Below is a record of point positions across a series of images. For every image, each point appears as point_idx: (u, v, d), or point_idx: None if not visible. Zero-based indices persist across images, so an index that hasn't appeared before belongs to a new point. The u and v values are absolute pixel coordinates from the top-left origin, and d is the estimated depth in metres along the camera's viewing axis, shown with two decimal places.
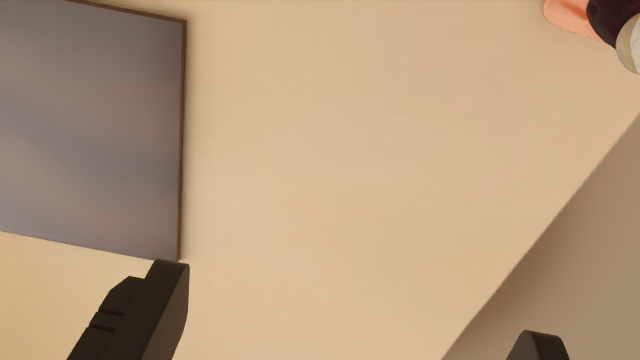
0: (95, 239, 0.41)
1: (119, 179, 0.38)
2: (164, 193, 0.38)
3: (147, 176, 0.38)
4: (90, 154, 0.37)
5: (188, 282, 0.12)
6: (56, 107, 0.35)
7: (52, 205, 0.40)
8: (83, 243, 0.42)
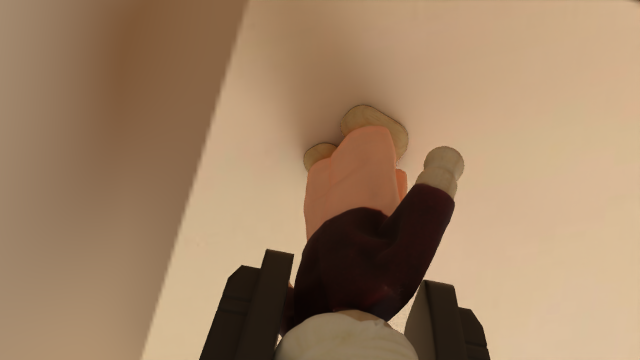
0: None
1: None
2: None
3: None
4: None
5: None
6: None
7: None
8: None
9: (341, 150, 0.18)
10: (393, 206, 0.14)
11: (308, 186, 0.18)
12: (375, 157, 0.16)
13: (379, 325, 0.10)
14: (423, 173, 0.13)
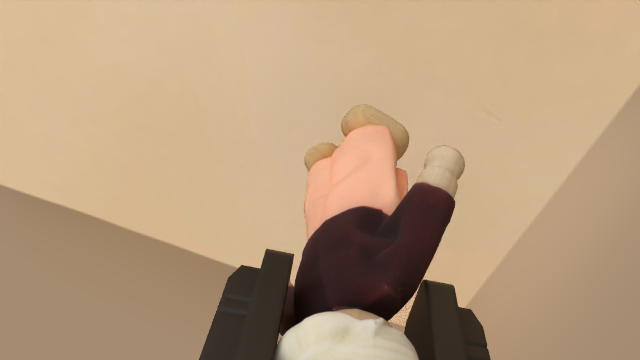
0: None
1: None
2: None
3: None
4: None
5: None
6: None
7: None
8: None
9: (341, 149, 0.18)
10: (393, 205, 0.14)
11: (309, 185, 0.18)
12: (376, 156, 0.16)
13: (379, 324, 0.10)
14: (423, 172, 0.13)
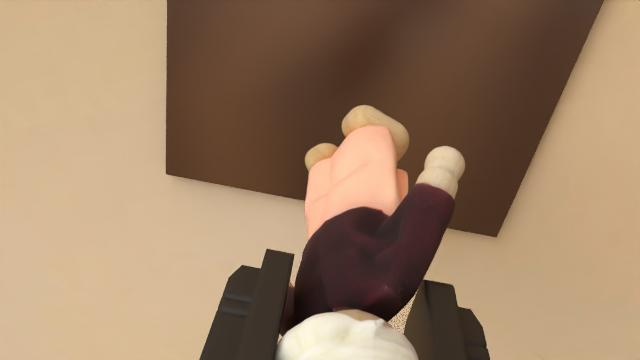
0: (187, 70, 0.27)
1: (300, 131, 0.28)
2: (283, 181, 0.30)
3: None
4: (337, 102, 0.27)
5: None
6: (410, 75, 0.26)
7: (241, 17, 0.25)
8: (173, 48, 0.26)
9: (342, 150, 0.18)
10: (394, 206, 0.14)
11: (309, 186, 0.18)
12: (376, 157, 0.16)
13: (379, 325, 0.10)
14: (424, 173, 0.13)
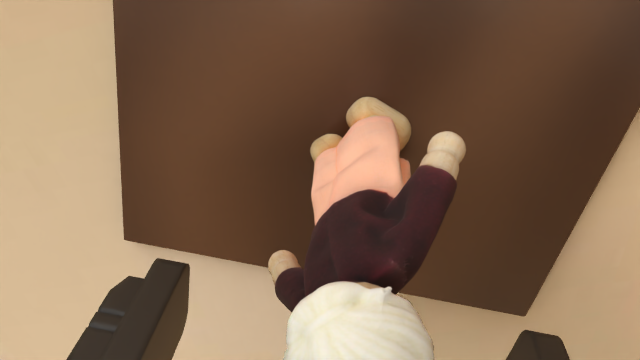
0: (144, 122, 0.21)
1: (286, 194, 0.23)
2: (266, 250, 0.24)
3: (295, 234, 0.24)
4: None
5: (188, 282, 0.12)
6: (423, 131, 0.20)
7: (209, 58, 0.20)
8: (125, 95, 0.21)
9: (346, 139, 0.19)
10: (398, 189, 0.15)
11: (315, 174, 0.19)
12: (380, 144, 0.17)
13: (387, 292, 0.11)
14: (427, 156, 0.14)
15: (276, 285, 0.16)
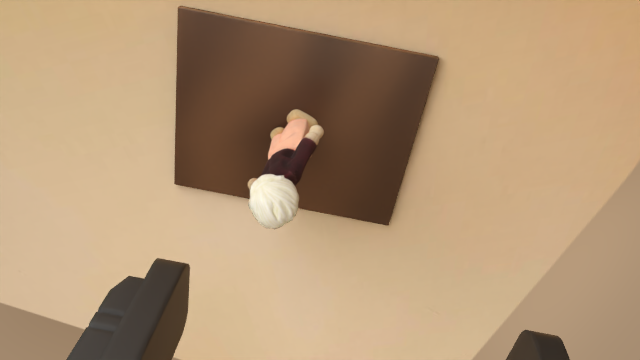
0: (188, 121, 0.43)
1: (259, 158, 0.44)
2: None
3: None
4: None
5: (188, 282, 0.12)
6: (324, 125, 0.42)
7: (221, 91, 0.41)
8: (180, 108, 0.43)
9: (285, 129, 0.41)
10: None
11: (270, 145, 0.41)
12: (297, 131, 0.39)
13: (282, 176, 0.32)
14: (306, 134, 0.35)
15: None
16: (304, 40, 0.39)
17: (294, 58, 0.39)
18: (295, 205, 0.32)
